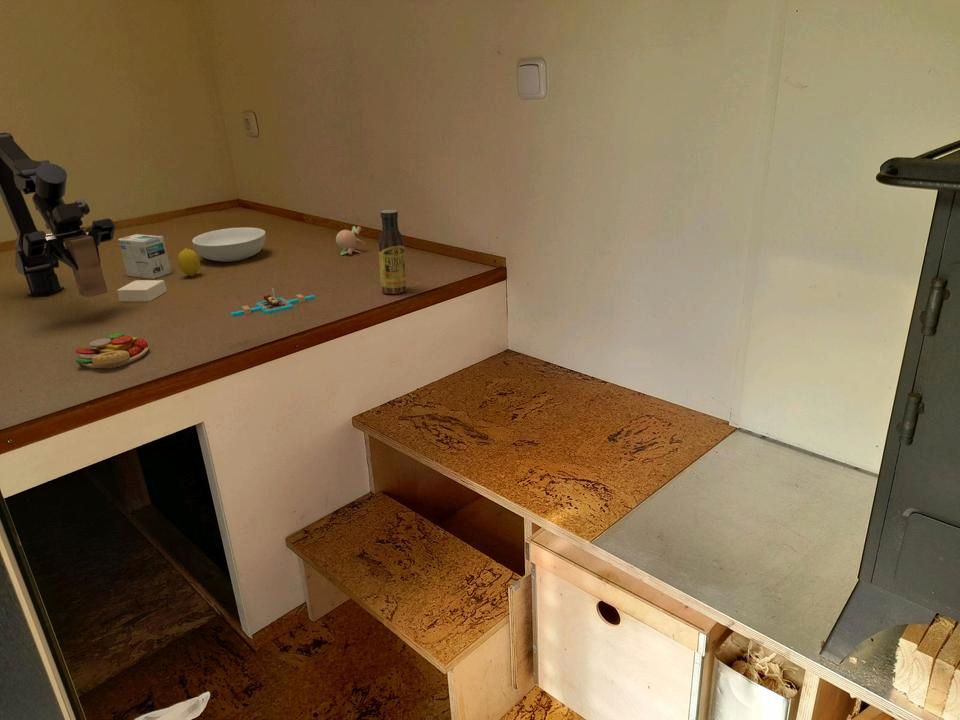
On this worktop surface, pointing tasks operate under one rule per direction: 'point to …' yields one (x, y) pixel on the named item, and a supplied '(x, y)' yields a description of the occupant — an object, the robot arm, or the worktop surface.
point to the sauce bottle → (391, 254)
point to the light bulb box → (144, 256)
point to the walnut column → (86, 265)
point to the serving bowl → (230, 243)
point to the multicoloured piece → (273, 304)
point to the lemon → (188, 262)
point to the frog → (348, 240)
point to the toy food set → (112, 351)
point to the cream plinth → (142, 290)
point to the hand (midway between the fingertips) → (88, 266)
